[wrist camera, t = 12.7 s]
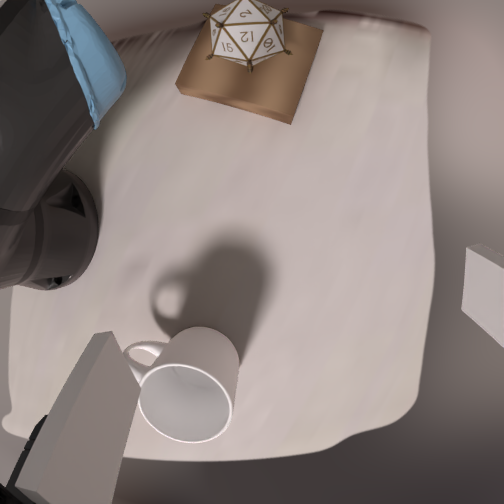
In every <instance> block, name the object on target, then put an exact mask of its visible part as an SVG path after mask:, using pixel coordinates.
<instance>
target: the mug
mask: <svg viewBox="0 0 504 504" xmlns="http://www.w3.org/2000/svg"><path fill="white" fill-rule="evenodd" d="M134 348H140V349H145V350H147V351H149V352H151V353H153V354H154V355H156V356H157V359H156V360H155V362H154V363H153V364H152V365H151V366H146V365H143V364H141V363H139V362H137V361H135V360H134V359H132V358H131V357H130V355H129V351H130V350H131V349H134ZM123 355H124V357H125V359H126V361H127V363H128V365H129V367H130V368H131V370H132V372H133V374H134V376H135V378H136V380H137V381H138V382H139V385H140V387H141V392H140V396H139V399H138V406H139V408H140V411H141V413H142V415H143V416H144V418H145V419H146V421H147V422H148V423H149V424H150V425H151V426H152V427H153V428H154V429H155V430H157V431H158V432H159V433H161V434H163V435H164V436H166V437H168V438H171V439H173V440H176V441H180V442H185V443H201V442H206V441H209V440H212V439H214V438H216V437H218V436H219V435H220V434H222V433H223V432H224V431H225V430H226V429H227V427H228V426H229V424H230V422H231V420H232V415H233V409H234V402H235V395H236V388H237V381H238V374H239V357H238V354H237V351H236V349H235V347H234V345H233V344H232V342H231V341H230V340H229V339H228V338H227V337H226V336H225V335H223V334H222V333H220V332H218V331H216V330H214V329H211V328H207V327H191V328H188V329H185V330H183V331H181V332H179V333H178V334H177V335H175V336H174V337H173V338H172V339H171V341H170V342H169V343H162V342H157V341H141V342H137V343H134V344H131V345H130V346H128V347H127V348H126V349H125V350H124V352H123Z"/></svg>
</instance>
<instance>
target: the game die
mask: <svg viewBox="0 0 504 504" xmlns="http://www.w3.org/2000/svg"><path fill="white" fill-rule="evenodd" d="M288 9H289V8H284V9H282V10H281V11H279V10H277V9H275V8H273V7H271V6H269V5H266V4H264V3H262V2H260V1H258V0H235V1H233V2H232V3H230V4H228V5H227V6H225V7H223V8H222V9H220V10H219V11H217V12H215V13H214V14H212V15H210V14H208V13H203V15H204V17H206V18H210V34H211V50H212V54H210V55H208V56H207V57H206V59H205V60H210V59H211V58H212V57H213V56H215V57H219V58H222V59H225V60H228V61H231V62H234V63H237V64H240V65H243V66H246V67H248V70H247V71H248V72H249V73H250V74H251V72H252V71H253V70H252V66H254V65H256V64H258V63H260V62H263V61H265V60H267V59H269V58H271V57H273V56H275V55H278V54H280V53H282V52H285V53H286V54H288V55H293V54H292V52H291V51H289V50H286V49H285V37H284V25H283V13H286V12H288Z"/></svg>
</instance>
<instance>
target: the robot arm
mask: <svg viewBox="0 0 504 504" xmlns="http://www.w3.org/2000/svg"><path fill="white" fill-rule="evenodd" d="M126 79H127V76H126V71H125V67H124V65H123V63H122V60H121V58H120V57H119V55H118V53H117V51H116V50H115V48H114V47H113V45H112V44H111V42H110V41H109V39H108V38H107V36H106V35H105V33H104V32H103V31H102V29H101V28H100V27H99V25H98V24H97V23H96V21H95V20H94V19H93V18H92V16H91V15H90V14H89V13H88V12H87V11H86V10H85V9H84V8H83V6H82V5H80V4H77V1H76V0H0V289H4V288H7V287H10V286H14V285H21V286H25V287H29V288H34V289H38V290H54V289H58V288H61V287H64V286H67V285H69V284H71V283H73V282H74V281H76V280H77V279H78V278H79V277H80V276H81V275H82V274H83V273H84V271H85V270H86V269H87V267H88V265H89V263H90V261H91V259H92V257H93V254H94V251H95V248H96V243H97V235H98V219H97V212H96V208H95V204H94V201H93V198H92V196H91V194H90V192H89V190H88V188H87V187H86V185H85V184H84V183H83V182H82V181H81V180H80V179H79V178H78V177H77V176H76V175H74V174H73V173H71V172H69V171H66V170H62V168H63V167H64V166H65V164H66V163H67V162H68V160H69V159H70V158H71V156H72V155H73V154H74V152H75V151H76V150H77V149H78V147H79V146H80V145H81V144H82V142H83V141H84V140H85V139H86V137H87V136H88V135H89V134H90V133H91V131H92V130H93V129H94V130H96V129H97V128H98V127H99V125H100V120H101V119H102V118H103V116H104V115H105V114H106V113H107V111H108V110H109V109H110V108H111V107H112V105H113V104H114V103H115V102H116V101H117V100H118V98H119V97H120V96H121V95H122V93H123V91H124V89H125V87H126ZM461 310H462V311H463V312H465V313H466V314H467V315H468V316H469V317H470V318H471V319H473V320H474V321H475V322H476V323H477V324H478V325H479V326H481V327H482V328H483V329H484V330H485V331H486V332H488V334H489V335H491V336H492V337H493V338H494V339H495V340H496V341H497V342H498V343H499V344H500V345H501V346H503V348H504V256H503V255H501V254H499V253H498V252H496V251H494V250H492V249H490V248H488V247H486V246H484V245H482V244H481V243H479V244H476V245H473V246H469V247H467V248H466V266H465V280H464V291H463V301H462V309H461ZM140 392H141V387H140V385H139V383H138V382H137V380H136V378H135V376H134V374H133V372H132V370H131V368H130V367H129V365H128V363H127V361H126V359H125V357H124V355H123V353H122V351H121V349H120V347H119V345H118V343H117V341H116V338H115V336H114V334H113V332H112V331H109V332H103V333H97V334H94V335H93V337H92V338H91V340H90V342H89V343H88V345H87V347H86V348H85V350H84V352H83V353H82V355H81V357H80V359H79V360H78V362H77V364H76V365H75V367H74V369H73V371H72V372H71V374H70V376H69V378H68V379H67V381H66V383H65V385H64V386H63V388H62V390H61V392H60V394H59V396H58V397H57V399H56V401H55V403H54V405H53V407H52V409H51V411H50V412H49V414H48V415H45V416H44V417H43V418H42V419H41V420H40V421H39V423H38V424H37V425H36V426H35V428H34V429H33V431H32V433H31V435H30V437H29V441H27V443H26V445H25V447H24V449H25V450H24V451H22V453H21V455H20V458H19V460H18V462H17V464H16V466H15V468H14V470H13V472H12V475H11V477H10V479H9V481H8V484H7V485H6V487H4V486H3V485H2V484H1V483H0V504H111V503H112V498H113V494H114V490H115V485H116V481H117V477H118V473H119V469H120V465H121V461H122V457H123V453H124V450H125V446H126V442H127V438H128V435H129V431H130V427H131V424H132V420H133V417H134V413H135V410H136V406H137V403H138V399H139V396H140Z"/></svg>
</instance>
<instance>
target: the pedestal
mask: <svg viewBox="0 0 504 504" xmlns="http://www.w3.org/2000/svg"><path fill="white" fill-rule="evenodd" d="M223 7H225V5H219V4H215V6H214V8H213V10H212V11H211V13H210V15H212V14H214V13H215V12H217V11H219V10H220V9H222V8H223ZM283 25H284V37H285V49H286V50H289V51H291V52H292V54H293V55H288V54H286V53H285V52H282V53H280V54H278V55H275V56H273V57H271V58H269V59H267V60H265V61H263V62H260V63H258V64H256V65H254V66H252V70H253V71H252V72H251V74H250V73H249V72H248V71H247V70H248V67H246V66H243V65H240V64H237V63H234V62H231V61H228V60H225V59H222V58H219V57H215V56H213V57H212V58H211V59H210V60H205V59H206V57H207V56H208V55H210V54H212V50H211V34H210V18H208V19H207V20H206V22H205V24H204V26H203V28H202V30H201V32H200V33H199V35H198V37H197V39H196V41H195V43H194V45H193V47H192V49H191V51H190V53H189V55H188V57H187V59H186V61H185V63H184V65H183V68H182V70H181V72H180V74H179V76H178V78H177V81H176V83H175V84H176V86H177V88H178V89H179V91H180V92H181V94H184V95H189V96H193V97H197V98H201V99H205V100H209V101H213V102H217V103H221V104H224V105H228V106H232V107H235V108H239V109H242V110H246V111H249V112H252V113H256V114H259V115H262V116H265V117H269V118H272V119H275V120H278V121H281V122H284V123H287V124H290V125H291V122H292V120H293V117H294V114H295V111H296V108H297V105H298V102H299V100H300V97H301V94H302V91H303V88H304V85H305V82H306V79H307V77H308V74H309V71H310V68H311V65H312V62H313V60H314V57H315V54H316V51H317V48H318V45H319V42H320V39H321V36H322V33H323V30H320V29H317V28H314V27H311V26H308V25H305V24H301V23H298V22H295V21H291V20H288V19H284V18H283Z"/></svg>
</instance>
